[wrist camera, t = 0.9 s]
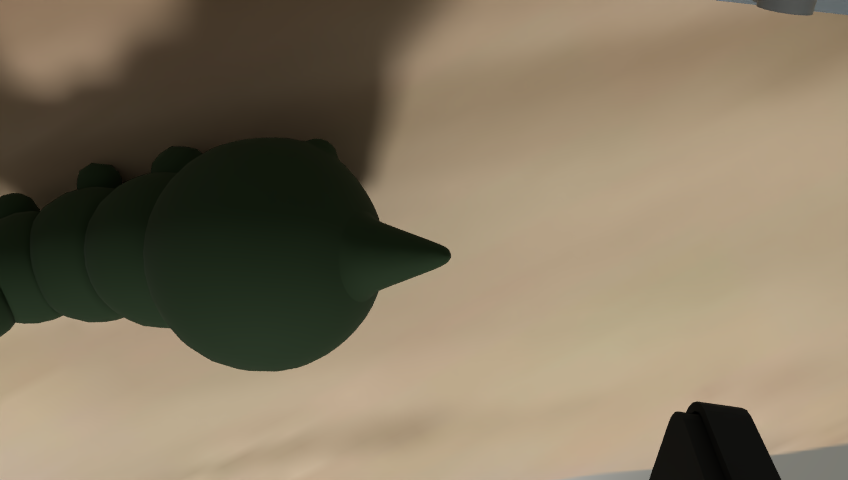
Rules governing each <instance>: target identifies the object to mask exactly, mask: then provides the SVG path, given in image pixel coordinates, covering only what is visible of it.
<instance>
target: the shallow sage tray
mask: <svg viewBox="0 0 848 480" xmlns="http://www.w3.org/2000/svg"><path fill="white" fill-rule="evenodd" d="M752 1H754V2H756V3H757V5H756V6H757V7H760V8H762V9H766V10H770V11H775V12H780V13H786V14H794V15H812V14H813V12H814V9H815V5H816V2H817V0H752Z"/></svg>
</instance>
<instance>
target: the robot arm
mask: <svg viewBox="0 0 848 480" xmlns="http://www.w3.org/2000/svg"><path fill="white" fill-rule="evenodd" d="M649 480H781V478H780V476H779V474H778V472H777V470H776V468H775V466H774V464H773V462H772V460H771V457H770V455H769V453H768V451H767V449H766V447H765V445H764V443H763V440H762V438H761V436H760V434H759V432H758V430H757V428H756V426H755V424H754V422H753V419H752V417H751V416H750V414H749V413H748V411H747V410H745V409H743V408H739V407H732V406H725V405H718V404H711V403H704V402H693V403H692V404H691V405H690V406H689V407H688V409H687V412H686V413H684V412H675V413H674V414H673V415H672V416H671V418H670V421H669V423H668V426H667V429H666V432H665V435H664V438H663V441H662V444H661V447H660V450H659V453H658V455H657V458H656V461H655V464H654V467H653V470H652V473H651V476H650V479H649Z"/></svg>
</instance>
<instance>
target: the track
mask: <svg viewBox="0 0 848 480" xmlns="http://www.w3.org/2000/svg"><path fill="white" fill-rule="evenodd" d="M718 1H727V2H736V3H745V4H754V5H757V3H756V2H754V1H752V0H718ZM814 11H817V12H826V13H835V14H844V15H848V0H817V2H816V5H815V9H814Z"/></svg>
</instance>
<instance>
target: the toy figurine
mask: <svg viewBox="0 0 848 480" xmlns="http://www.w3.org/2000/svg"><path fill="white" fill-rule="evenodd" d="M77 189H78V190H76V191H72V192H68V193H65V194H64V195H62V196H60V197H59V198H57V199H56V200H54V201H53V202H51V203H50V204H48V205H47V206H45V207H44V208H43V209H42V210H41V211H40V209H39V208H38V207H37V205H36V204H35V203H34V201H33V200H32V198H30V197H28V196H26V195H23V194H19V193H11V194H7V195H3V196H1V197H0V337H1V336H2V335H3V334H5V333H6V332H7V331H9V330H10V329H11V327H12V326H13V325H14V324H15V322H16V323H23V324H25V323H41V322H45V321H50V320H54V319H56V318H58V317H61V316H63V315H64V316H66V317H70V318H73V319H77V320H81V321H85V322H107V321H113V320H118V319H121V318H126V319H128V320H130V321H133V322H135V323H138V324H140V325H143V326H150V327H160V328H171V329H172V330H173V332H174V333H175V334H176V335H177V336H178V337H179V338H180V340H182V341H183V342H184V343H185V344H186V345H187V346H189V347H190V348H192V349H193V350H195V351H196V352H198V353H200V354H201V355H203V356H204V357H206V358H208V359H210V360H211V361H214V362H217V363H220V364H223V365H226V366H230V367H233V368H236V369H241V370H248V371H282V370H288V369H293V368H298V367H301V366H304V365H307V364H309V363H311V362H313V361H315V360H317V359H319V358H321V357H323V356H325V355H327V354H328V353H330V352H331V351H332V350H334V349H335V348H337V347H338V346H339V345H341V344H342V343H343V342H344V341H345V340H346V339H347V338H348V337H349V336H350V335H351V334H352V333H353V332H354V331H355V330H356V329H357V328H358V327H359V325H360V324H361V323H362V322H363V320H364V319H365V318H366V316H367V314H368V313H369V311H370V309H371V308H372V306H373V303H374V301H375V299H376V297H377V294H378V291H379V290H381V289H384V288H387V287H389V286H392V285H394V284H397V283H400V282H402V281H405V280H408V279H410V278H413V277H416V276H418V275H421V274H423V273H426V272H429V271H431V270H434V269H436V268H438V267H441V266H443V265H444V264H446V263H447V262H448V261H449V260H450V258H451V253H450V251H449V250H448V249H447V248H446V247H444V246H442V245H440V244H437V243H435V242H432V241H430V240H427V239H425V238H422V237H419V236H416V235H414V234H411V233H408V232H406V231H403V230H400V229H398V228H395V227H392V226H390V225H387V224H384V223H382V222H380V221H379V218H378V215H377V212H376V210H375V208H374V205H373V204H372V202H371V200H370V198H369V196H368V195H367V193H366V191H365V190H364V189H363V187H362V186H361V184H360V183H359V182H358V180H357V179H356V178H355V177H354V176H353V174H352V173H351V172H350V171H349V170H348V169H347V168H346V166H345V165H344V164H342V163H341V162H340V161H339V159H338V156H337V153H336V150H335V148H334V147H333V146H332V145H331V144H330V143H329V142H327V141H325V140H322V139H312V140H308V141H299V140H294V139H288V138H276V137H274V138H254V139H244V140H239V141H235V142H231V143H228V144H224V145H221V146H218V147H215V148H213V149H211V150H208V151H207V152H205V153H203V154H202V153H201V152H200V151H198V150H197V149H194V148H189V147H184V146H171V147H170V148H168V149H167V150H165V151H163V152H162V153H160V154H159V156H158V157H157V158H156V159H155V161H154V162H153V163H152V168H151V173H150V174H145V175H141V176H139V177H136V178H134V179H131V180H129V181H127V182H125V183H123V184H122V180H121V176H120V174H119V172H118V171H117V170H116V169H115V168H114V167H113V166H112V165H104V164H97V163H91V164H90V165H88V166H87V167H85V168H83V169H82V170H80V171H79V175H78V180H77Z"/></svg>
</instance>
